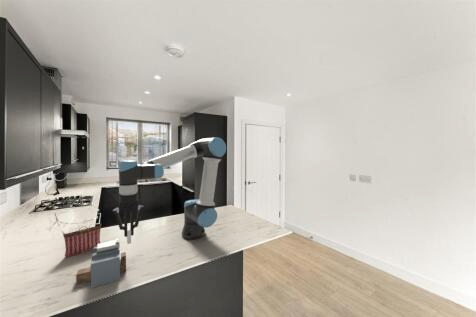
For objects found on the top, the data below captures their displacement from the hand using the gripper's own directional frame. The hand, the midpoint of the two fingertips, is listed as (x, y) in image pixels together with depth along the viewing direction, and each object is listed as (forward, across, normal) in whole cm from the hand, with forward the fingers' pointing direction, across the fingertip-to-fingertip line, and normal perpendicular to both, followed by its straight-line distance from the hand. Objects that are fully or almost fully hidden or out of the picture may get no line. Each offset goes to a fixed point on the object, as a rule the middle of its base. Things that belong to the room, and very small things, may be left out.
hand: (129, 242), depth 92 cm
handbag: (+12, +22, -27) cm, 37 cm away
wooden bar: (+12, +11, 0) cm, 17 cm away
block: (+12, +9, 0) cm, 15 cm away
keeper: (+2, +8, 0) cm, 8 cm away
